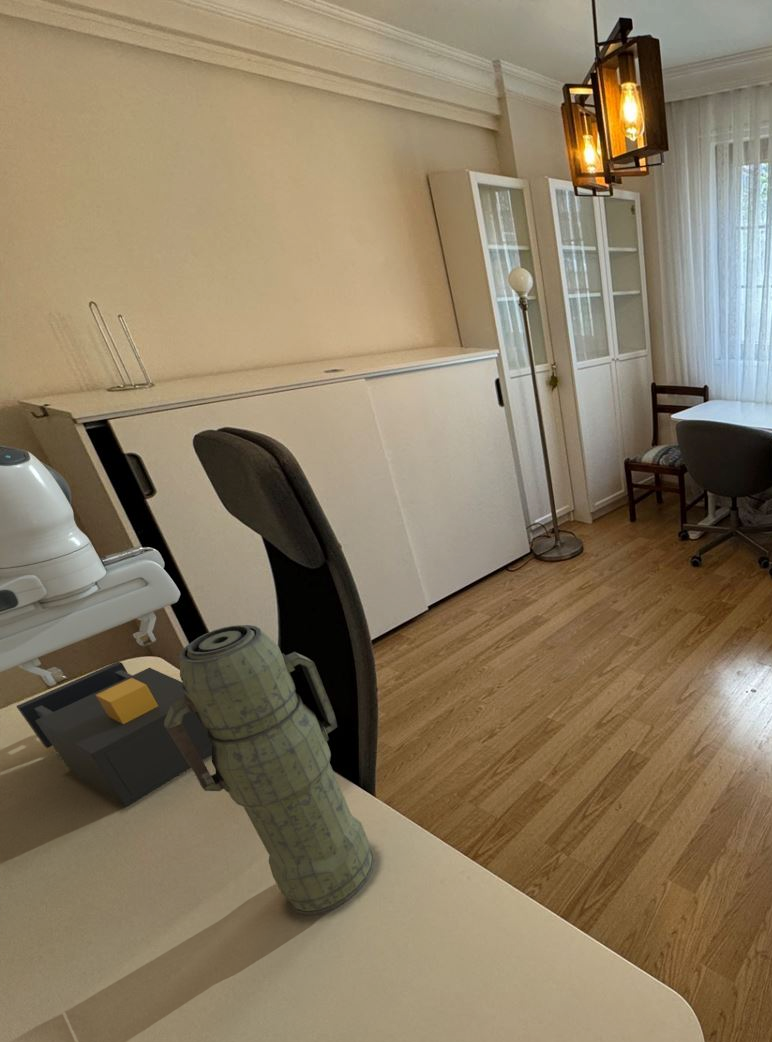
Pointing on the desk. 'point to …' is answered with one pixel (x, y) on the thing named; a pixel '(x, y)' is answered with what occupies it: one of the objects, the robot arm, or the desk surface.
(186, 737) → the thermos
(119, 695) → the block
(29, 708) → the drawer
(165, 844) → the desk surface
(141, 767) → the cabinet
